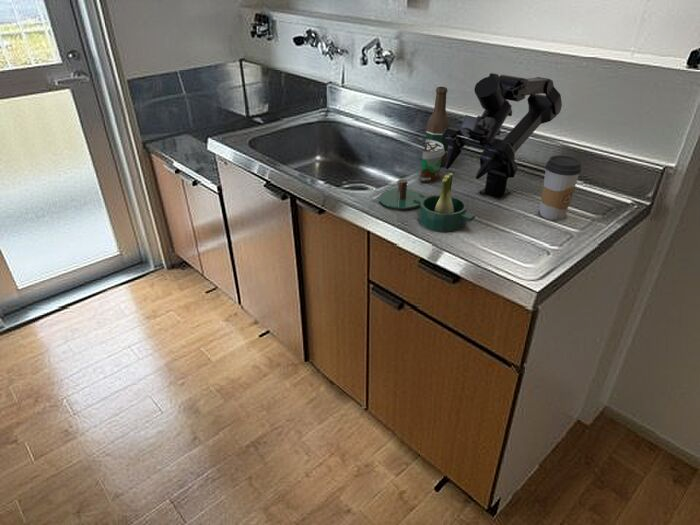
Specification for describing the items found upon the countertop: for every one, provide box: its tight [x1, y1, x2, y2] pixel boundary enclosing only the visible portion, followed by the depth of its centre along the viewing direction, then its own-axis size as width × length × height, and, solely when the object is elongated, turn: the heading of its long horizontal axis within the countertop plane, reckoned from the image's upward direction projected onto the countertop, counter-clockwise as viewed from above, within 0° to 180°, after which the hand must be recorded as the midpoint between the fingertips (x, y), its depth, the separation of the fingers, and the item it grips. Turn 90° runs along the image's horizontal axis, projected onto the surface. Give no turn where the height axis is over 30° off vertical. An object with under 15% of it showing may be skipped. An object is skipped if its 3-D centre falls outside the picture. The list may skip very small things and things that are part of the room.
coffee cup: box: [539, 154, 582, 221], centre depth 126 cm, size 8×8×15 cm
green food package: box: [420, 138, 445, 184], centre depth 149 cm, size 12×6×10 cm, turn 168°
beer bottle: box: [425, 86, 451, 168], centre depth 155 cm, size 8×8×24 cm
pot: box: [413, 194, 476, 233], centre depth 125 cm, size 11×17×5 cm
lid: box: [378, 178, 425, 210], centre depth 135 cm, size 12×12×6 cm
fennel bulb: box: [434, 172, 454, 213], centre depth 124 cm, size 6×5×12 cm
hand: (461, 173), depth 124 cm, fingers open, 9 cm apart
